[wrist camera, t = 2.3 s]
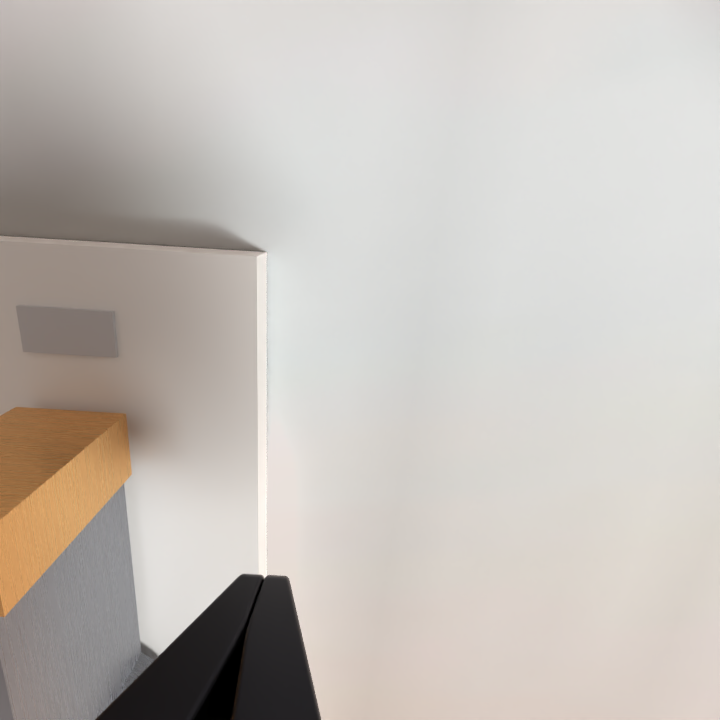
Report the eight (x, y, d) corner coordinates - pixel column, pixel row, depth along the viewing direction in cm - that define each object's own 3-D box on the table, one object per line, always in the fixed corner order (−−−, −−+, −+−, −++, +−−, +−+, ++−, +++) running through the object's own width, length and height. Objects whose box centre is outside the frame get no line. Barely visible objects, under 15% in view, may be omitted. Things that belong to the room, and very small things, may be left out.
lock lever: (186, 756, 14) (116, 967, 10) (46, 747, 14) (-80, 954, 10) (162, 416, 11) (44, 535, 7) (-21, 404, 11) (-244, 517, 7)
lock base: (266, 841, 17) (259, 883, 16) (-136, 815, 17) (-170, 855, 16) (266, 252, 11) (255, 257, 10) (-363, 213, 11) (-443, 214, 10)
